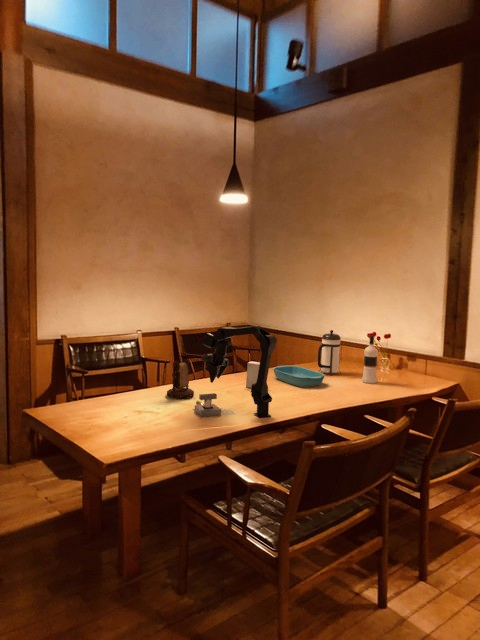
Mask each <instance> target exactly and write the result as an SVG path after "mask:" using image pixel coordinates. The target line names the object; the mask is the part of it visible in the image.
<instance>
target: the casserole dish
mask: <svg viewBox="0 0 480 640" xmlns="http://www.w3.org/2000/svg"><path fill="white" fill-rule="evenodd" d="M272 369H273V373H274V375H275V377H276V378H277V379H278V380H279V381H282V382H284V383H287V384H290V385H292V386H295V387H296V386H297V387H301V388H309V387H315V386H320V385H321V384H322V383H323V380H324V378H325V377H326V374H324V373H323V372H321V373H320V371H315V370H312V369H309V368H306V367H303V366H298V365H278V366H275V367H273V368H272Z"/></svg>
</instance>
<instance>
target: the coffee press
mask: <svg viewBox="0 0 480 640" xmlns="http://www.w3.org/2000/svg"><path fill="white" fill-rule="evenodd" d="M329 332H330V333H324V334H323V335H322V336H321V344H320V345H319V347H318V350H317V353H318V354H317V366H318V368H319V370H318V372H319V373H326V374H329V376H333V374H336V373H337V374H338V375H341V371H340V358H341V357H340V356H341V341H342V338H341V336H340V335H339V334H338V333H337V334H336V333H334V330H332V329H331V330H330V331H329ZM338 372H339V373H338Z"/></svg>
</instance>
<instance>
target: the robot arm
mask: <svg viewBox="0 0 480 640" xmlns="http://www.w3.org/2000/svg"><path fill="white" fill-rule="evenodd" d="M246 335H253V336H254V338H255V340H257V342H259V349H260V353H261V354H260V359H259V360H260V361H259V363H260V365H259V371H258V377H257V382H256V383H254V384H252V388H250V395H251V397H252V401H253V404H254V405H256V412H254V413H253V415H254V416H255V417H258V418H259V419H260V418H270V417H272V415H271V414H269V413H270V412H269V411H270V410H269V409H270V408H269V407H270V405H269V404H270V403H271V402H272V400H273V397H272V395H270V393H269V387H268V386H269V385H268V382H267V381H268V375H269V371H270V370H269V369H270V363H271V359H272V354H273V352H274V350H275V348H276V345H277V343H278V339H277V337H276V335H274V334H271V333H270V332H269V331H267V330H265V328H262V326H260V325H259V324H258V325H251V326H244V327H243V326H241V327H233V326H232V327H231V326H224V327H219V328H217V330H216V332H215V334H211V333H210V332H205V336H203V338H202V341H201V344H202V346H205V347H207V348H209V349H214V352H212V353H204V354H203V355H202V356H201V360H202V361H203V363H206V362H210V363H208V364H206V365H205V370H206V371H207V372H208V374H209V381H210V383H211V384H212V383H214V381H215V380H216V378H217V379H220V378H221V376H222V375H223V373H224V372H225V371H226V369H227V368H228V367H229V365H230V360H229V359H228V358H226V357H227V355H228V353H227V349H228V346H232V342H231V341H230V339H229V338H233V337H237V336H246ZM226 339H228V340H226Z"/></svg>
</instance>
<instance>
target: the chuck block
mask: <svg viewBox="0 0 480 640" xmlns="http://www.w3.org/2000/svg"><path fill="white" fill-rule="evenodd" d="M221 410H222V409H221V408H220V407H218V406H217V405H216V404H214V403H212V404H211V409H204V403H203V402H201V400H197V401H196V402H195V405H194V408H192V411H193V412H194V413H195V414H197V415H198V416H199V417H200V418H210V417H220V416H222V412H221Z"/></svg>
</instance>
